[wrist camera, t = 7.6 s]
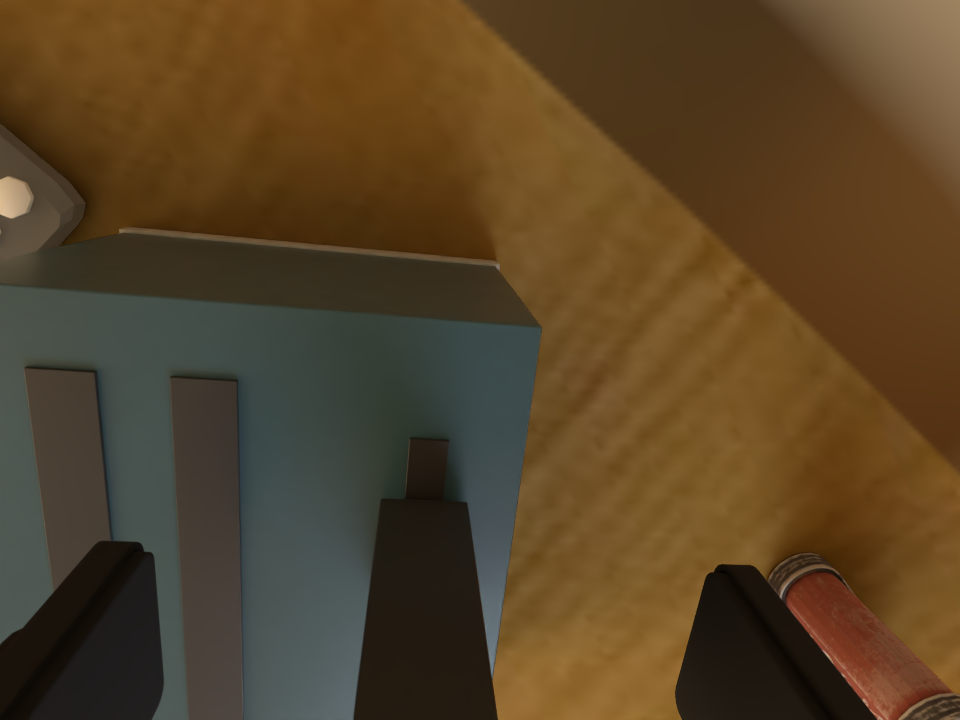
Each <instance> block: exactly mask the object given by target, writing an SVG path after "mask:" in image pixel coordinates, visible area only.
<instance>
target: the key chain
mask: <svg viewBox="0 0 960 720" xmlns="http://www.w3.org/2000/svg"><path fill="white" fill-rule="evenodd" d="M85 206H86V203H85V202H84V200H83V199H82V198H81V196H80V195H79V194H78V192H77V191H76V190H75V188H74V187H73V186H72V184H71V183H70V182H69V181H68V180H67V179H65V178H64V177H63V176H62V175H61V174H60V173H58V172H57V171H56V170H55V169H54V168H52V167H51V166H50V165H49V164H48V163H47V162H45V161H44V160H43V159H42V158H41V157H39V156H38V155H37V154H36V153H35V152H34V151H32V150H31V149H30V148H29V147H28V146H26V145H25V144H24V143H23V142H22V141H21V140H19V139H18V138H17V137H16V136H15V135H13V134H12V133H11V132H10V131H9V130H8V129H6V128H5V127H4V126H3V125H2V124H0V259H4V258H8V257H13V256H17V255H22V254H27V253H31V252H36V251H40V250H45V249H50V248H54V247H58V246H59V245H60V244H61V243H62V242H63V241H64V240H65V239H66V238H67V236H68V235H69V234H70V233H71V232H72V231H73V230H74V229H75V228H76V227H77V225H78V224H79V223H80V222H81V220H82V219H83V215H84V211H85Z"/></svg>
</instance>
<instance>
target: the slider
mask: <svg viewBox="0 0 960 720" xmlns="http://www.w3.org/2000/svg"><path fill="white" fill-rule="evenodd" d="M353 720H498V717H497V710H496V703H495V696H494V688H493V681H492V674H491V667H490V659H489V652H488V645H487V638H486V631H485V623H484V616H483V609H482V602H481V595H480V587H479V580H478V573H477V566H476V559H475V551H474V544H473V537H472V530H471V523H470V515H469V508H468V503H467V502H458V501H434V500H411V499H387V498H382V499H381V500H380V505H379V513H378V521H377V529H376V537H375V545H374V553H373V561H372V569H371V577H370V585H369V594H368V602H367V610H366V618H365V626H364V634H363V642H362V650H361V658H360V666H359V674H358V682H357V690H356V698H355V706H354V715H353Z"/></svg>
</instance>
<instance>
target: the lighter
mask: <svg viewBox="0 0 960 720" xmlns="http://www.w3.org/2000/svg"><path fill="white" fill-rule="evenodd" d="M768 583H769V584H770V585H771V587H772V588H773V589H774V590H775V592H776V593H777V594H778V595H779V597H780V598H781V599H782V601H783V602H784V603H785V604H786V606H787V607H788V608H789V609H790V611H791V612H792V613H793V614H794V616H795V617H796V618H797V619H798V621H799V622H800V623H801V624H802V626H803V627H804V628H805V629H806V631H807V632H808V633H809V634H810V636H811V637H812V638H813V639H814V641H815V642H816V643H817V644H818V646H819V647H820V648H821V649H822V651H823V652H824V653H825V654H826V656H827V657H828V658H829V659H830V661H831V662H832V663H833V664H834V666H835V667H836V668H837V669H838V671H839V672H840V673H841V674H842V676H843V677H844V678H845V679H846V681H847V682H848V683H849V684H850V686H851V687H852V688H853V689H854V691H855V692H856V693H857V694H858V696H859V697H860V698H861V699H862V701H863V702H864V703H865V704H866V706H867V707H868V708H869V709H870V711H871V712H872V713H873V714H874V716H875V717H876V718H877V719H878V720H960V694H956V693H953V692H952V691H951V690H950V689H949V688H948V687H947V686H946V685H945V684H944V683H943V682H942V681H941V680H940V679H939V678H938V677H937V676H936V675H935V674H934V673H933V672H932V671H931V670H930V669H929V668H928V667H927V666H926V665H925V664H924V663H923V662H922V661H921V660H920V659H919V658H918V657H917V656H916V655H915V654H914V653H913V652H912V651H911V650H910V649H909V648H908V647H907V646H906V645H905V644H904V643H903V642H902V641H901V640H900V639H899V638H898V637H897V636H896V635H895V634H893V633H892V632H891V631H890V630H889V629H888V628H887V627H886V626H885V625H884V624H883V623H882V622H881V621H880V620H879V619H878V618H877V617H876V616H875V615H874V614H873V613H872V612H871V611H870V610H869V609H868V608H867V607H866V606H865V605H864V604H863V603H862V602H861V601H860V600H859V599H858V598H857V597H856V595H855V594H854V592H853V591H852V590H851V588H850V587H849V586H848V584H847V583H846V582H845V580H844V579H843V577H842V576H841V575H840V573H839V572H838V571H837V570H836V569H835V568H834V567H833V566H831V565H830V564H829V563H828V562H827V561H826V560H825V559H824V558H823V557H821V556H820V555H818V554H814V553H801V554H797V555H795V556H792V557H789V558H788V559H786V560H785V561H783V562H781V563H780V564H779V565H778V566H777V567H776V568H775V569H774V570H773V571H772V573H771V575H770V577H769V579H768Z"/></svg>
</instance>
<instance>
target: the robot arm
mask: <svg viewBox="0 0 960 720" xmlns="http://www.w3.org/2000/svg"><path fill="white" fill-rule="evenodd" d="M163 688H164V672H163V660H162V647H161V635H160V622H159V609H158V597H157V584H156V572H155V560H154V555H153V553H152V552H144V548H143V546H142V544H141V543H139V542H129V541H99V542H98V543H96V544H95V545H94V546H93V547H92V548H91V550H90V551H89V552H88V553H87V554H86V555H85V556H84V558H83V559H82V560H81V561H80V562H79V563H78V565H77V566H76V567H75V568H74V569H73V570H72V571H71V573H70V574H69V575H68V576H67V577H66V578H65V580H64V581H63V582H62V583H61V584H60V585H59V586H58V588H57V589H56V590H55V591H54V592H53V593H52V595H51V596H50V597H49V598H48V599H47V600H46V601H45V603H44V604H43V605H42V606H41V607H40V608H39V610H38V611H37V612H36V613H35V614H34V615H33V616H32V618H31V619H30V620H29V621H28V622H27V623H26V625H25V626H24V627H23V628H22V629H20V630H17V631H15V632H13V633H12V634H11V635H10V636H9V637H7V638H6V639H5V640H4V641H3V642H2V643H1V644H0V720H152V718H153V716H154V714H155V712H156V710H157V708H158V706H159V703H160V700H161V697H162V693H163ZM675 697H676V704H677V708H678V711H679V714H680V716H681V718H682V720H878V719H877V718H876V717H875V716H874V714H873V713H872V712H871V711H870V709H869V708H868V707H867V706H866V704H865V703H864V702H863V701H862V699H861V698H860V697H859V696H858V694H857V693H856V692H855V691H854V689H853V688H852V687H851V686H850V684H849V683H848V682H847V681H846V679H845V678H844V677H843V676H842V674H841V673H840V672H839V671H838V669H837V668H836V667H835V666H834V664H833V663H832V662H831V661H830V659H829V658H828V657H827V656H826V654H825V653H824V652H823V651H822V649H821V648H820V647H819V646H818V644H817V643H816V642H815V641H814V639H813V638H812V637H811V636H810V634H809V633H808V632H807V631H806V629H805V628H804V627H803V626H802V624H801V623H800V622H799V621H798V619H797V618H796V617H795V616H794V614H793V613H792V612H791V611H790V609H789V608H788V607H787V606H786V604H785V603H784V602H783V601H782V599H781V598H780V597H779V595H778V594H777V593H776V592H775V590H774V589H773V588H772V587H771V585H770V584H769V583H768V582H767V580H766V579H765V578H764V577H763V575H762V574H761V573H760V572H759V571H758V570H757V569H756V568H755V567H754V566H751V565H728V564H721V565H718V566H717V567H716V569H715V571H714V572H711V573H709V574H708V575H707V576H706V579H705V582H704V586H703V589H702V593H701V597H700V600H699V604H698V608H697V611H696V615H695V619H694V622H693V626H692V630H691V633H690V637H689V641H688V644H687V648H686V652H685V656H684V659H683V663H682V667H681V670H680V674H679V678H678V681H677V685H676V690H675Z"/></svg>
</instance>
